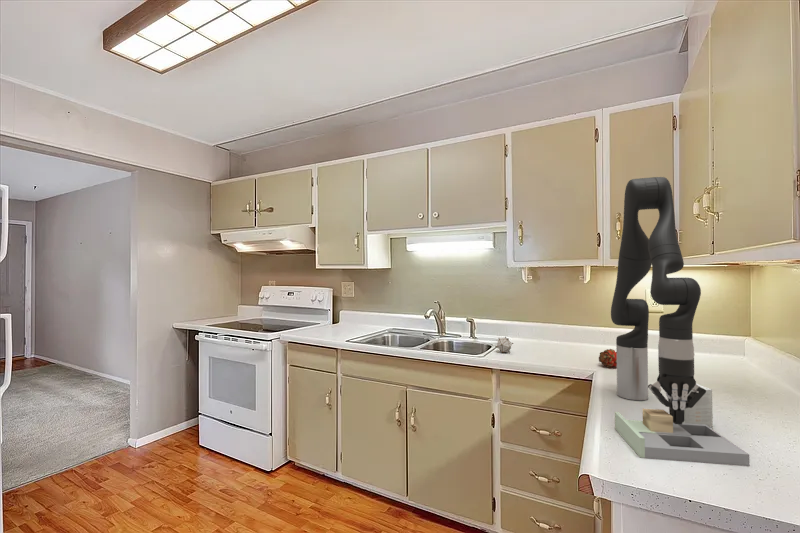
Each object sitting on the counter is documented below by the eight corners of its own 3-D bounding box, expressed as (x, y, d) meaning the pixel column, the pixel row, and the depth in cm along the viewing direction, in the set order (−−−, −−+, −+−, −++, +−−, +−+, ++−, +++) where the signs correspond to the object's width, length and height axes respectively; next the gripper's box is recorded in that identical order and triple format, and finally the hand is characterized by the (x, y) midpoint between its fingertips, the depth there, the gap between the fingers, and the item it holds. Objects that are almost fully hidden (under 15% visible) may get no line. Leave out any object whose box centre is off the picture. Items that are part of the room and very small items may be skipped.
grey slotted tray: (614, 428, 108) (614, 411, 108) (705, 434, 104) (705, 416, 104) (640, 457, 91) (639, 438, 91) (749, 465, 87) (749, 445, 87)
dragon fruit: (607, 373, 170) (608, 371, 180) (625, 363, 167) (625, 361, 178) (594, 356, 173) (596, 354, 184) (612, 345, 171) (612, 345, 181)
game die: (508, 360, 205) (516, 346, 200) (492, 354, 205) (500, 340, 200) (507, 348, 212) (515, 335, 207) (492, 343, 213) (500, 329, 207)
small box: (697, 419, 114) (696, 383, 114) (713, 427, 108) (713, 389, 108) (670, 420, 113) (669, 383, 113) (684, 428, 108) (684, 389, 108)
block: (642, 423, 105) (642, 408, 105) (663, 424, 104) (663, 409, 104) (651, 431, 100) (651, 415, 100) (673, 432, 99) (672, 416, 99)
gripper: (696, 353, 104) (697, 419, 103) (641, 351, 106) (642, 416, 106) (713, 359, 96) (714, 430, 96) (654, 357, 99) (655, 427, 98)
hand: (676, 423), depth 101 cm, fingers closed
